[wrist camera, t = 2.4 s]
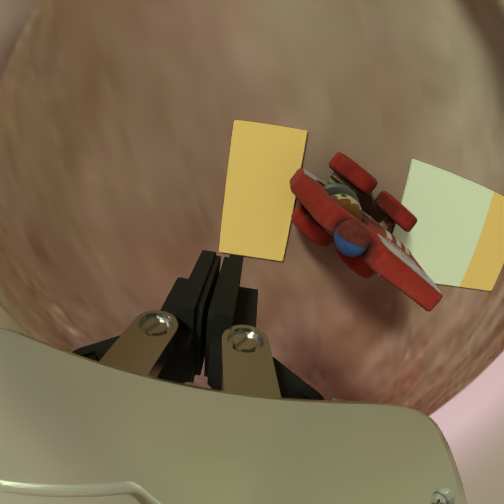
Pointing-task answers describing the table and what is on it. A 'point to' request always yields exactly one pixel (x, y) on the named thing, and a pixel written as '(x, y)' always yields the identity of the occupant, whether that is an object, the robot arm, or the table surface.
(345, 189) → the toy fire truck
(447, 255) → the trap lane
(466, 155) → the table surface
